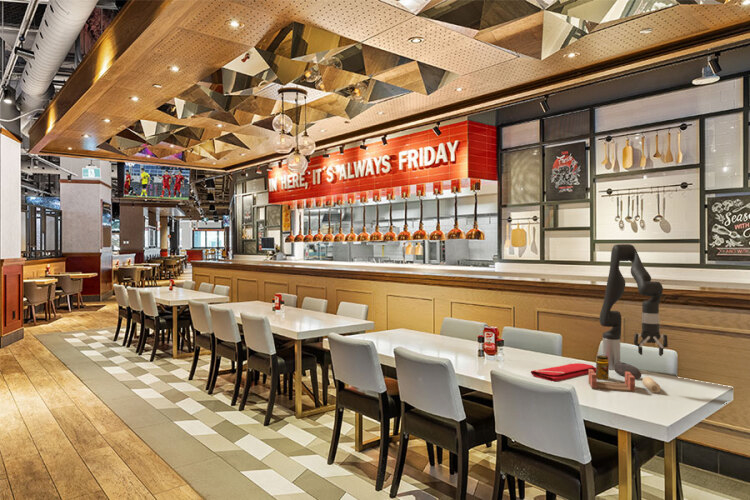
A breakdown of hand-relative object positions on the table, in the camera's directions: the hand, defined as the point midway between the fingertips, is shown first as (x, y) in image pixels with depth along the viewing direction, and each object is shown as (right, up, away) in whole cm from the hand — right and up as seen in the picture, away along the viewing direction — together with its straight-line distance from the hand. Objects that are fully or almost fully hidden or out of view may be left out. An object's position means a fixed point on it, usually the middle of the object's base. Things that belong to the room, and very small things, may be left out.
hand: (650, 355), depth 234 cm
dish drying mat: (-29, -18, +31) cm, 46 cm away
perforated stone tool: (+2, -17, +23) cm, 29 cm away
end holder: (-18, -17, +4) cm, 25 cm away
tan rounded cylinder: (0, -17, 0) cm, 17 cm away
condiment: (-15, -17, +21) cm, 31 cm away
